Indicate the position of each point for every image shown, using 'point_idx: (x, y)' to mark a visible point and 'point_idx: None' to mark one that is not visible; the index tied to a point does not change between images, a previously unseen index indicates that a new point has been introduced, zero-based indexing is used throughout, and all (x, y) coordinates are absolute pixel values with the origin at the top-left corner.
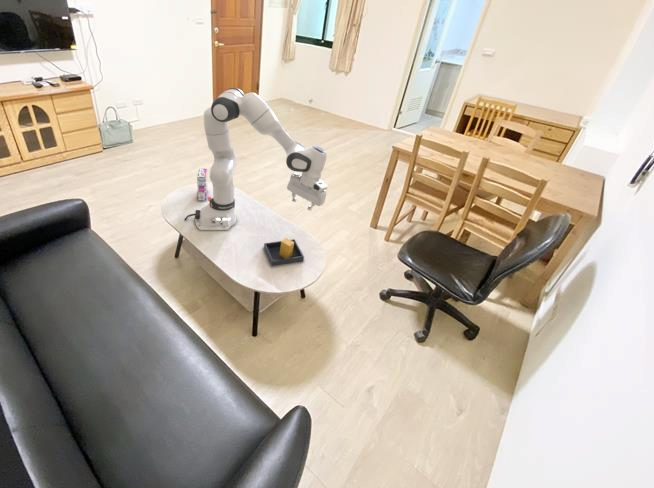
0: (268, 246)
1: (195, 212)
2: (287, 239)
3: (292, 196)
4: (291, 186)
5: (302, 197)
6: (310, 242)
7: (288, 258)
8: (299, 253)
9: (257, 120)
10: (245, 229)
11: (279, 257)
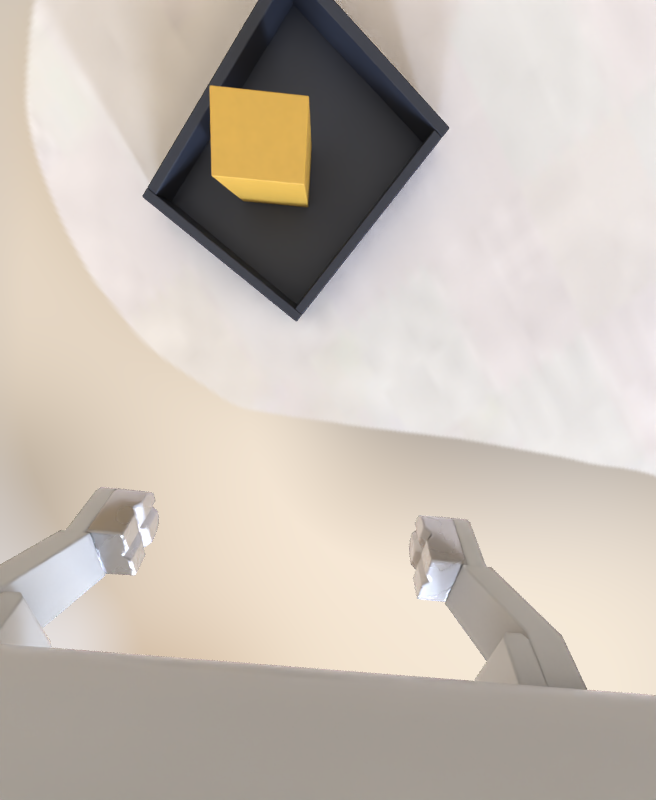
0: (412, 156)
1: None
2: (279, 167)
3: (509, 590)
4: None
5: (258, 670)
6: (231, 393)
7: None
8: (201, 229)
9: None
10: (627, 236)
11: None
